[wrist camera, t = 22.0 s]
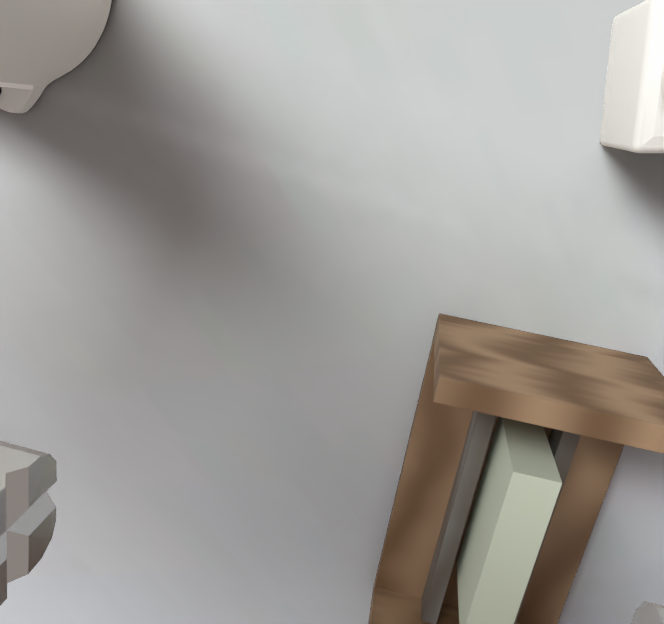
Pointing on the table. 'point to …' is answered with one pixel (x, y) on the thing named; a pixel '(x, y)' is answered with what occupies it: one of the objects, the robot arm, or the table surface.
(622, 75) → the container
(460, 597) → the door panel
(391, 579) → the cabinet base
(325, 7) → the table surface
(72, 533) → the table surface
